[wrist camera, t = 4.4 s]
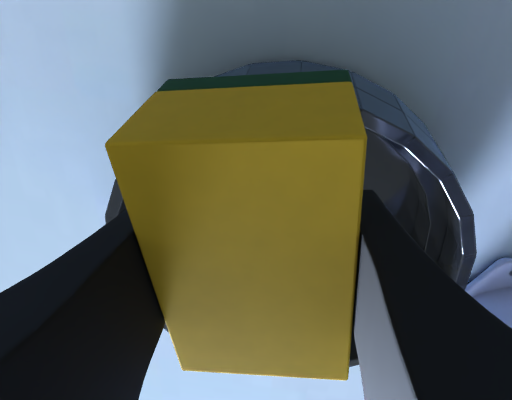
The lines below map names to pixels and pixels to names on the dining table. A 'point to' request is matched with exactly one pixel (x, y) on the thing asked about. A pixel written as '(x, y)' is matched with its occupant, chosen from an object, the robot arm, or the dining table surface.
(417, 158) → the bowl
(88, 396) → the robot arm
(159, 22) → the dining table surface
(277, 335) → the sponge
